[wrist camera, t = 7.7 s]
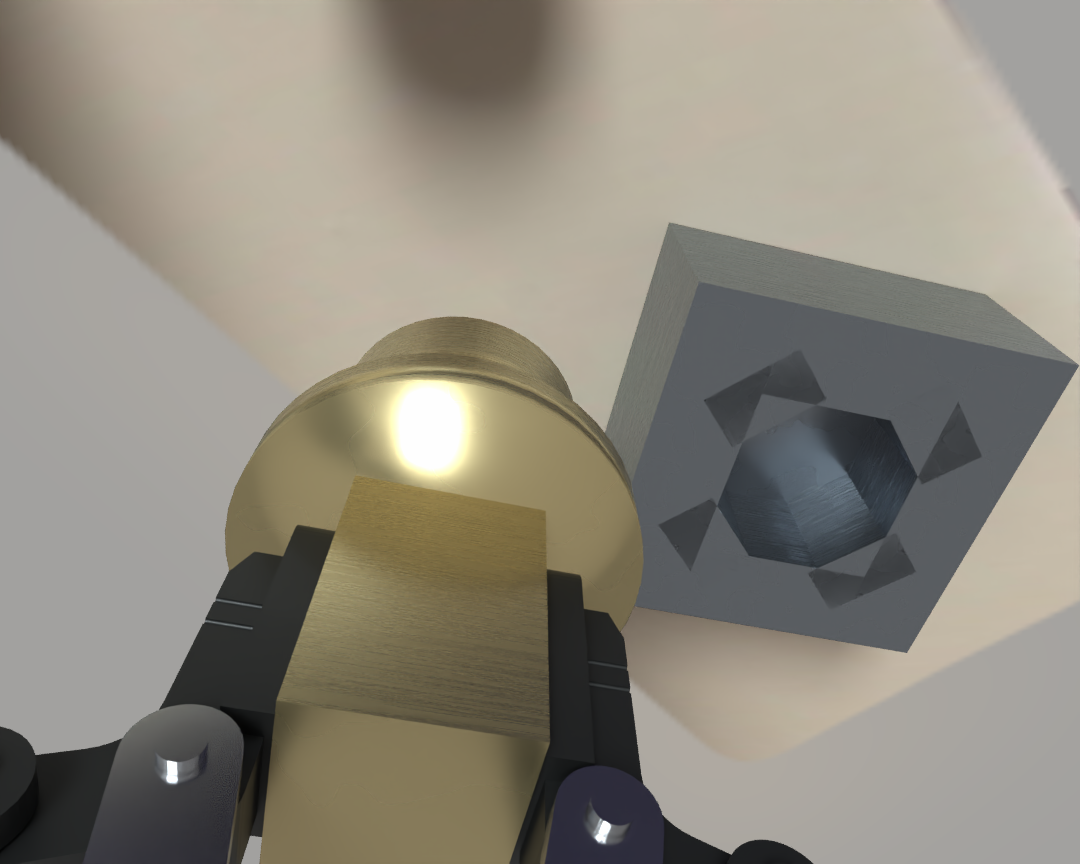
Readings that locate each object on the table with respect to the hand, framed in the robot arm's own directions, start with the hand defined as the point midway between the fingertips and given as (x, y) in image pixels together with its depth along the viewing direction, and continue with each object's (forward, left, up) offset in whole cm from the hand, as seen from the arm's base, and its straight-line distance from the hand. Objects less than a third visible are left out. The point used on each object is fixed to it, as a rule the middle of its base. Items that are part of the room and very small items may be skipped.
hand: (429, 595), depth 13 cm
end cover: (0, 0, -6) cm, 6 cm away
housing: (+12, -4, -19) cm, 23 cm away
